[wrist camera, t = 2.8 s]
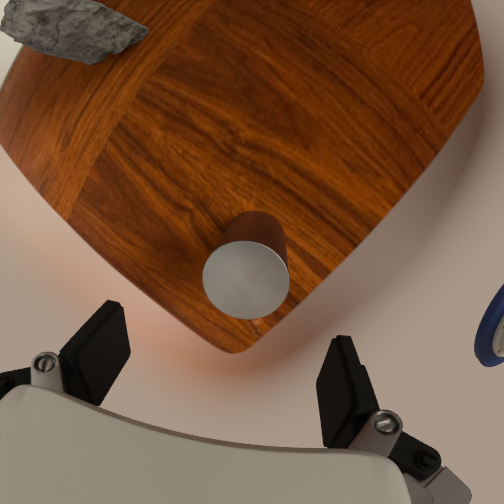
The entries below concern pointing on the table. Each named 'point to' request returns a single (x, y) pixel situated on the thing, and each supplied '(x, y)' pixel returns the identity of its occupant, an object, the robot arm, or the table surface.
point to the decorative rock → (70, 28)
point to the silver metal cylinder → (248, 267)
